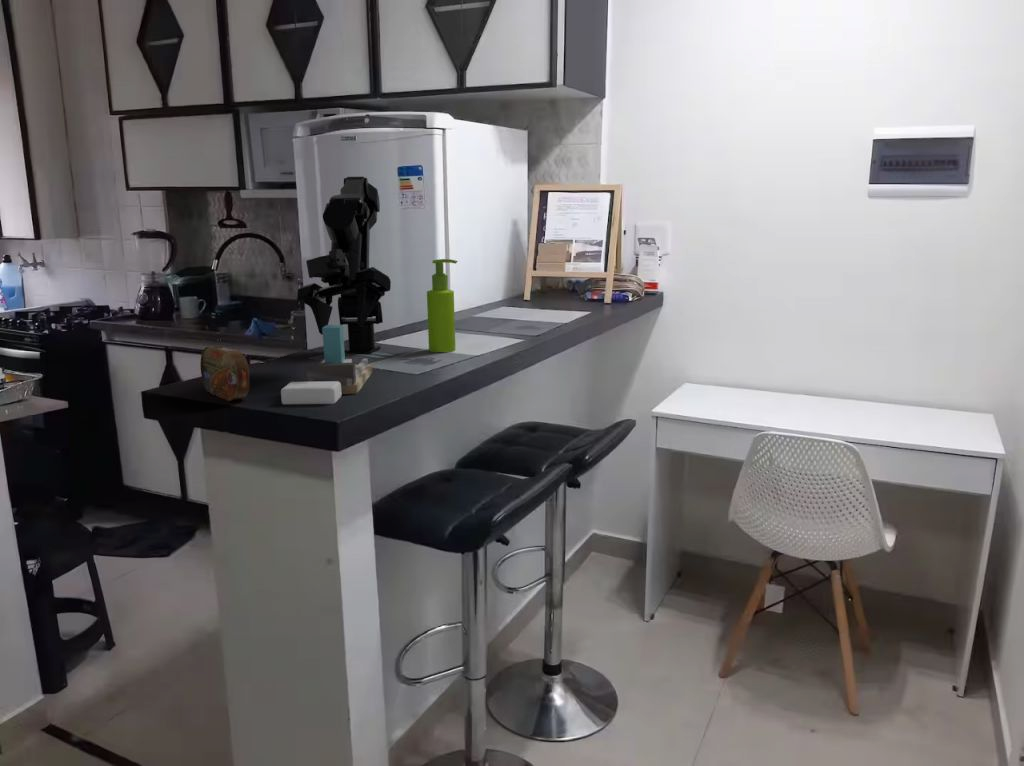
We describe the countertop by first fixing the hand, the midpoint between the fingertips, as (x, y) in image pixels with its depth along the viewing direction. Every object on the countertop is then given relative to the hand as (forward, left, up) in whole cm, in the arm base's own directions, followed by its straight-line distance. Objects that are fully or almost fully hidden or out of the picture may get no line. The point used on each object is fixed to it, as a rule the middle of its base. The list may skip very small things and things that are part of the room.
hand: (340, 329), depth 143 cm
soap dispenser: (-28, +11, -9) cm, 31 cm away
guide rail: (+6, +2, -9) cm, 11 cm away
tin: (+18, -13, -9) cm, 24 cm away
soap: (+18, +3, -9) cm, 21 cm away
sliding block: (+9, +3, -7) cm, 12 cm away
